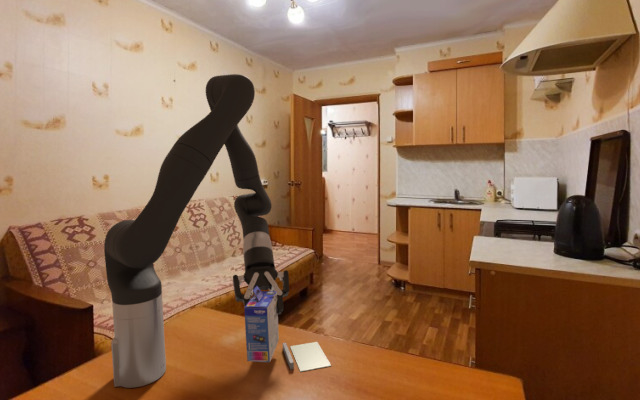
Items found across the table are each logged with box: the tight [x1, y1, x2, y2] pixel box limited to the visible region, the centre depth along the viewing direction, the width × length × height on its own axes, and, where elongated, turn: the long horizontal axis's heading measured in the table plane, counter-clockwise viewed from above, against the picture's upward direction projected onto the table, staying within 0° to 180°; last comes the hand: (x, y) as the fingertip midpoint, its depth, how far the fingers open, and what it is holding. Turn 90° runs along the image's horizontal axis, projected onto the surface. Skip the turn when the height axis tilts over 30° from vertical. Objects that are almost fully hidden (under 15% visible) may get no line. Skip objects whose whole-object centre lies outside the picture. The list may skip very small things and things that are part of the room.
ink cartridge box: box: [243, 286, 280, 363], centre depth 75 cm, size 10×6×14 cm, turn 176°
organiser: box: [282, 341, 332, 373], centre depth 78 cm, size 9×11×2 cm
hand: (265, 314), depth 78 cm, fingers closed on ink cartridge box, 6 cm apart
